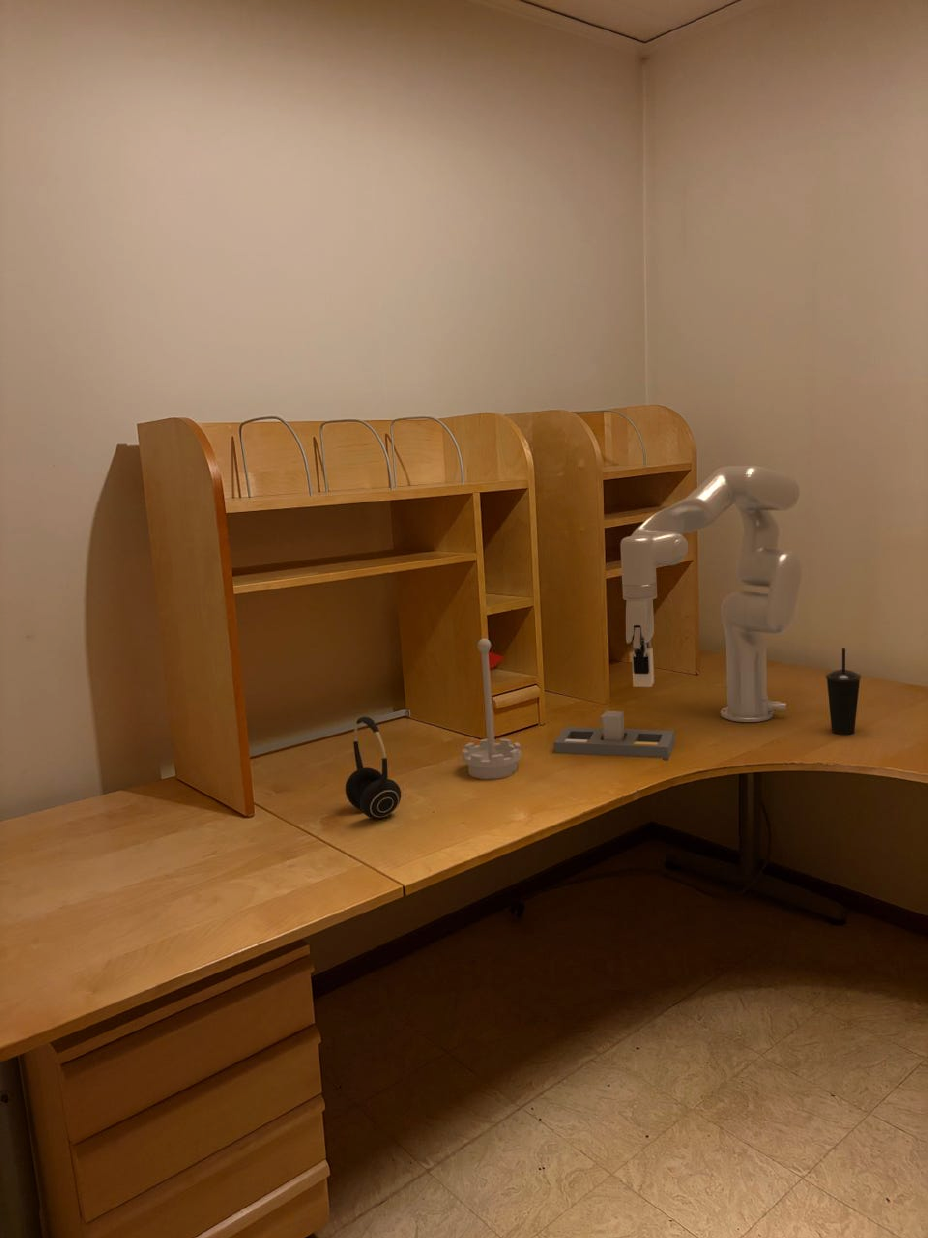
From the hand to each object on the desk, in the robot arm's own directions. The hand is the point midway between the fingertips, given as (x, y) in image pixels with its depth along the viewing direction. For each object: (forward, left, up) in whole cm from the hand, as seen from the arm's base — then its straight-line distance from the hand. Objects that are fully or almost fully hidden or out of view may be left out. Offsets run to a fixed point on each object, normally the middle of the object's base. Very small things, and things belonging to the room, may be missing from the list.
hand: (643, 670), depth 211 cm
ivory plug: (0, 0, -3) cm, 3 cm away
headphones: (+47, +46, -19) cm, 69 cm away
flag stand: (+31, +18, -19) cm, 41 cm away
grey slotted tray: (+7, 0, -19) cm, 20 cm away
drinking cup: (-43, -19, -19) cm, 50 cm away
